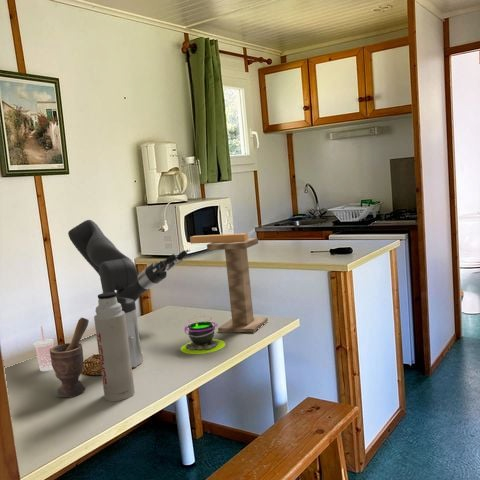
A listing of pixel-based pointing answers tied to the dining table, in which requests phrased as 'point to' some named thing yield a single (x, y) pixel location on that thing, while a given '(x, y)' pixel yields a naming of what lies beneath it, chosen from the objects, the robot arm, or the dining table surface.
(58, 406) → the dining table surface
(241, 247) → the shelf stand
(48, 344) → the beverage cup
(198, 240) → the handle bar
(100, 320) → the thermos bottle
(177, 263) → the robot arm
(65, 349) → the mortar and pestle
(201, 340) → the toy cauldron
